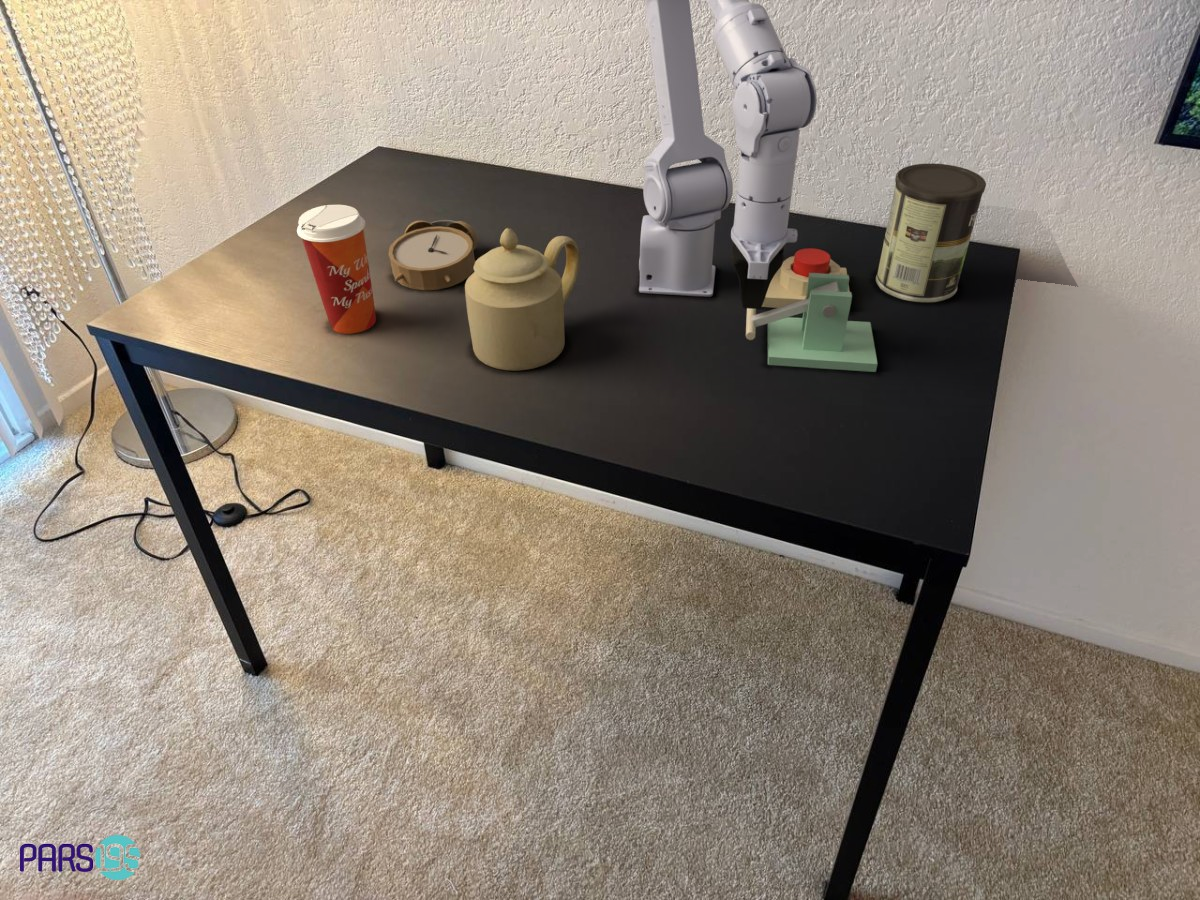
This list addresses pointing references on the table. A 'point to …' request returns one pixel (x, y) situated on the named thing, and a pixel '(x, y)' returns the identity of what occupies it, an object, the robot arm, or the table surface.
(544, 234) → the table surface
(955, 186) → the coffee can
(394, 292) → the table surface
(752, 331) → the lever
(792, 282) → the button housing
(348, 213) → the paper cup
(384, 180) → the table surface
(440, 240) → the alarm clock
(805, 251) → the red button
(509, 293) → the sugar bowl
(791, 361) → the bracket
